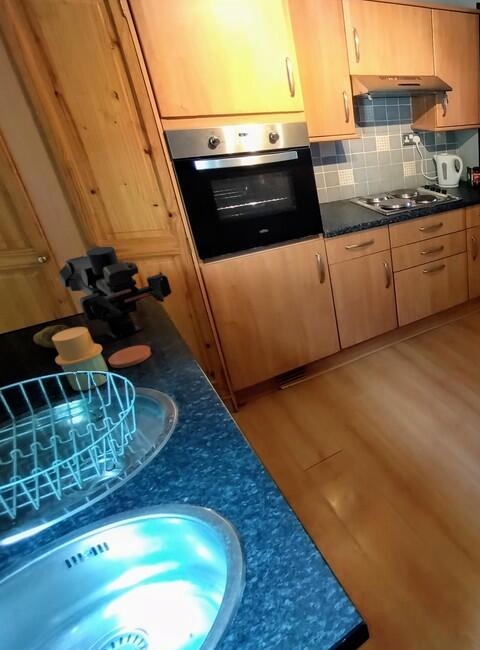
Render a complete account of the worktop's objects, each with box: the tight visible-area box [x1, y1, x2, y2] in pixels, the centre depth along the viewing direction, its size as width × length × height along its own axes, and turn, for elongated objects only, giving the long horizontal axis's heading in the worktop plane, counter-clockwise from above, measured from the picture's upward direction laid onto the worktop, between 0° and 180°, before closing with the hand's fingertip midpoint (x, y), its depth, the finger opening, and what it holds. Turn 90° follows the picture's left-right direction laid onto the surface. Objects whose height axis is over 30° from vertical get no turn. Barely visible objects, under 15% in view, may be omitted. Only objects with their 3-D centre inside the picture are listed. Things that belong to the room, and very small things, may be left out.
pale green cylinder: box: [60, 351, 110, 392], centre depth 113 cm, size 7×7×8 cm
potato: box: [32, 324, 71, 349], centre depth 126 cm, size 8×13×8 cm, turn 50°
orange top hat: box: [52, 326, 103, 366], centre depth 110 cm, size 9×9×8 cm
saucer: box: [107, 344, 152, 369], centre depth 123 cm, size 9×9×1 cm
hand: (142, 306), depth 117 cm, fingers open, 9 cm apart
